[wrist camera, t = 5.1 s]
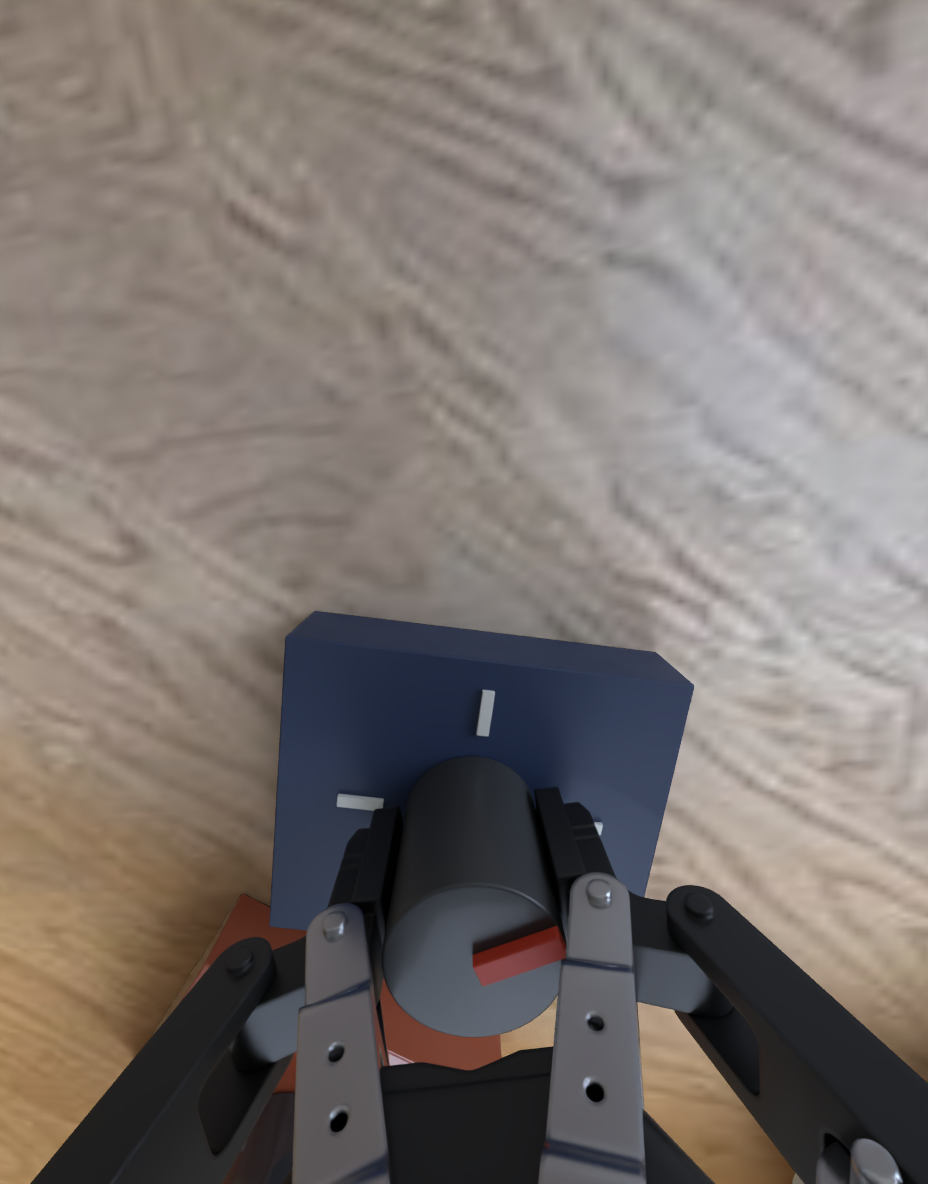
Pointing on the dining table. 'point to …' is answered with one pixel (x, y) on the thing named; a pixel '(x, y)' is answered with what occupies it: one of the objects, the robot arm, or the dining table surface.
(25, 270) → the dining table surface
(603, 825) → the navy flat block
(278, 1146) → the dark grey dial knob
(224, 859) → the dining table surface
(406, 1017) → the dial base block
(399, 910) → the black rotary knob
